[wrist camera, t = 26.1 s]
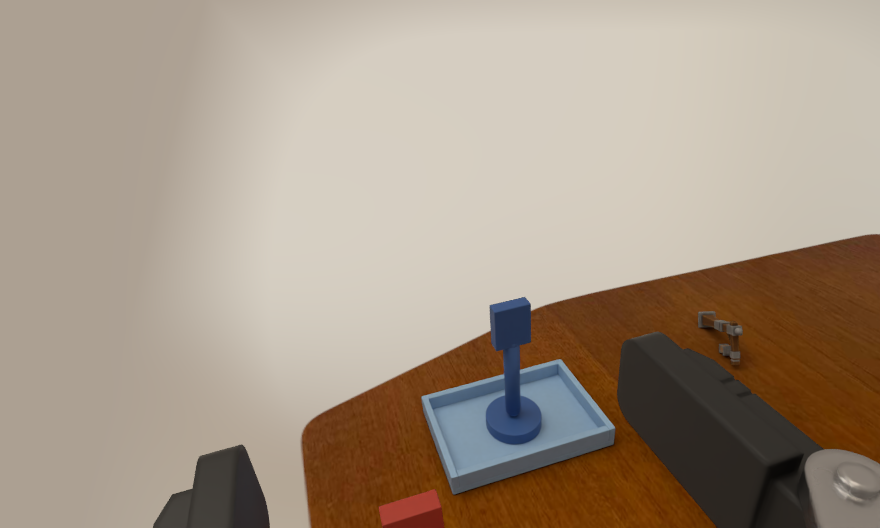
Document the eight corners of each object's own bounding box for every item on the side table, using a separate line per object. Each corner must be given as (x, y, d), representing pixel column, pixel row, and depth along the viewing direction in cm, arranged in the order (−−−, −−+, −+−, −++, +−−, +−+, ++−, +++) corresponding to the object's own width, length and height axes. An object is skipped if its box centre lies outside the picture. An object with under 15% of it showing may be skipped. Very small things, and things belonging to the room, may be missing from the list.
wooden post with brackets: (731, 368, 52) (730, 324, 52) (698, 348, 60) (698, 310, 59) (749, 367, 52) (749, 323, 51) (714, 347, 60) (714, 309, 59)
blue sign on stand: (498, 451, 46) (491, 328, 39) (478, 411, 50) (469, 295, 44) (551, 435, 47) (553, 313, 40) (527, 397, 51) (525, 282, 45)
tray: (453, 495, 43) (451, 478, 42) (423, 412, 52) (421, 396, 51) (614, 444, 46) (615, 427, 45) (560, 374, 55) (560, 358, 54)
